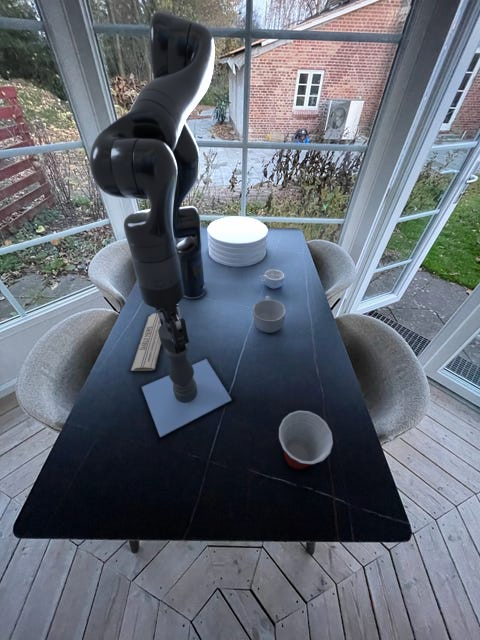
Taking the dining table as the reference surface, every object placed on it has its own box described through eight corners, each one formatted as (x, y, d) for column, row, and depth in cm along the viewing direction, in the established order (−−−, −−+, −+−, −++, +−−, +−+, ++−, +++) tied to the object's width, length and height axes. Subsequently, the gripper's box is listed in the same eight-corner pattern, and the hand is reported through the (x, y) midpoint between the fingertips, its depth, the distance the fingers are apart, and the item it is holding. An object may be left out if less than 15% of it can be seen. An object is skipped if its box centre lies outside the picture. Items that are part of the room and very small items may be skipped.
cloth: (141, 387, 74) (141, 387, 74) (206, 359, 82) (206, 358, 82) (160, 437, 64) (159, 437, 64) (231, 400, 72) (231, 399, 72)
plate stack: (215, 235, 142) (214, 214, 134) (267, 240, 139) (269, 218, 131) (202, 263, 122) (200, 240, 114) (263, 269, 119) (265, 246, 111)
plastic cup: (269, 434, 66) (274, 411, 57) (311, 431, 66) (323, 407, 58) (277, 484, 58) (285, 465, 49) (325, 480, 59) (341, 460, 50)
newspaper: (155, 370, 78) (153, 367, 77) (130, 371, 78) (129, 367, 77) (168, 316, 95) (167, 312, 94) (148, 316, 95) (147, 312, 94)
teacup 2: (281, 339, 89) (284, 322, 83) (249, 334, 90) (250, 317, 84) (284, 312, 98) (287, 295, 93) (255, 308, 100) (257, 291, 94)
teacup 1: (282, 280, 113) (284, 270, 109) (282, 291, 108) (284, 280, 104) (258, 279, 114) (259, 268, 110) (258, 289, 108) (259, 278, 104)
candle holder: (201, 386, 74) (191, 323, 57) (191, 405, 70) (177, 343, 53) (181, 380, 76) (166, 316, 59) (170, 398, 72) (150, 335, 54)
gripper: (196, 290, 43) (203, 353, 54) (166, 251, 52) (177, 312, 63) (150, 305, 40) (167, 368, 51) (127, 261, 49) (146, 323, 60)
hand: (173, 337), depth 57 cm, fingers open, 8 cm apart
